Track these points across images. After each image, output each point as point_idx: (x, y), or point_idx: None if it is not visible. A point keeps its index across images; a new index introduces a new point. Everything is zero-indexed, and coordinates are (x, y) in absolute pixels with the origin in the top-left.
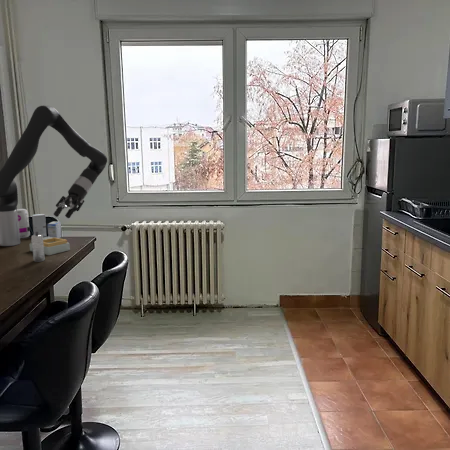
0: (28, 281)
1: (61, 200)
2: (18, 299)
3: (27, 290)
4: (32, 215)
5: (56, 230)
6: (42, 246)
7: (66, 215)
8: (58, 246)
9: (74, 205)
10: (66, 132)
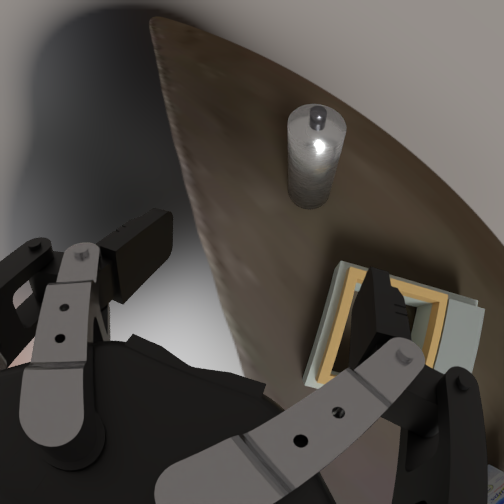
0: (187, 61)
1: (443, 487)
2: (151, 27)
3: (158, 43)
4: None
5: None
6: (288, 159)
7: (153, 213)
8: (324, 318)
9: (29, 262)
10: None
